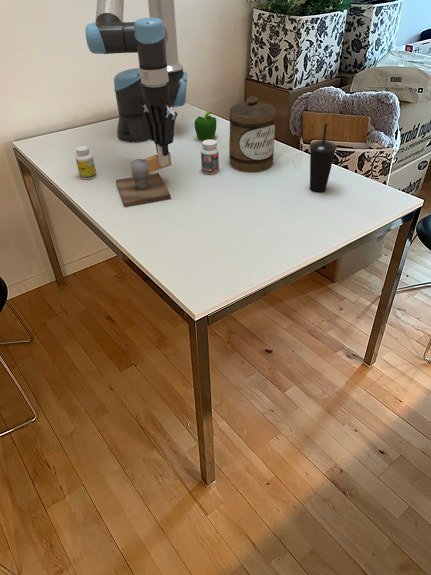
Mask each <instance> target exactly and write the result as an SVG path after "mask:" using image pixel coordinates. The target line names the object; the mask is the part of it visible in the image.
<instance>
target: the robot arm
mask: <svg viewBox="0 0 431 575" xmlns="http://www.w3.org/2000/svg"><path fill="white" fill-rule="evenodd" d="M124 3H125V0H96V11H95V12H96V13H95V22H92V23H87V25H86V26H85V40H86V44H87V48H88V49H89V51H90V53H91V54H96V55H97V54H98V55H100V54H101V55H109V54H110V55H111V54H112V55H113V54H128V53H129V54H134V53H135V54H136V53H137V58H138V59H137V60H138V64H139V66H138V67H137V68H129V69H126V70H123V71H120V72H118V73H116V75H114V78H113V85H114V86H113V89H114V93H115V98H116V99H115V100H116V106H117V110H118V122H117V129H116V133H117V134H116V135H117V138H118V140H120V141H122V142H126V143H142V142H147V141H153V143H154V144H155V150H156V154H158V159H159V166H162V167H163V166H165V165H167V164H169V162H168V155H169V145H170V144H173V142H174V135H175V125H176V119H177V116H178V112H176V111H173V110H172V109H171V108H177V107H178V108H179V107H183V106H185V104H186V102H187V101H186V100H187V84H188V72H186V71H184V66H183V65H182V64H181V63H180V62H179V54H178V53H179V52H178V51H179V50H178V38H177V37H178V36H177V27H176V26H177V25H176V13H175V12H176V11H175V0H147V4H148V14H149V17H142V18H139V19H136V20H135V21H127V22H125V21H124V7H125V4H124Z"/></svg>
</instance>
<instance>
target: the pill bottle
mask: <svg viewBox="0 0 431 575" xmlns="http://www.w3.org/2000/svg"><path fill="white" fill-rule="evenodd" d="M201 145H202V148H201V150H200V156H201V157H200V160H201V172H202V173H203V174H205V175H215V174H217V173H219V170H220V163H219V162H220V161H219V160H220V158H219V149H218V147H217V146H218V143H217V140H214V139H212V140H211V139H209V140H204V141H202V142H201Z"/></svg>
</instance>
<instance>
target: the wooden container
mask: <svg viewBox="0 0 431 575" xmlns="http://www.w3.org/2000/svg"><path fill="white" fill-rule="evenodd" d="M275 130H276V108H275V106H274V105H271V104H270V103H266V102H260V101H259V97H257V96H256V95H250V96H249V97H247V99H246V101H245V102H240V103H237V104H234V105H232V106H231V107H230V109H229V141H228V142H229V146H228V147H229V149H228V150H229V151H228V152H229V154H228V155H229V156H228V157H229V159H228V160H229V165H230V166H231V168H232V169H235V170H237V171H239V172H240V171H241V172H244V173H245V172H246V173H257V172H262V171H266V170H268V169H270V168H271V167H272V166H273V164H274V152H275V133H276V132H275Z"/></svg>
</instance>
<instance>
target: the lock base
mask: <svg viewBox="0 0 431 575" xmlns="http://www.w3.org/2000/svg"><path fill="white" fill-rule="evenodd" d="M115 183H116V186H117V189H118V192H119V195H120V197H121V202H122V203H123V204H122V205H123V206H124V208H128V207H133V206H139V205H140V206H141V205H145V204H150V203H151V204H152V203H156V202H162V201H167V200H171V198H172V197H171V196H172V195H171V193H170V191H169V189H168V187H167V185H166V184H165V181H164V180H163V178H162V176H161V174H160V172H153V173H149V175H148V176H147V177H145V178H141V179H138V178H134V177H133V176H131V177H124V178H117V179H115Z"/></svg>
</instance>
